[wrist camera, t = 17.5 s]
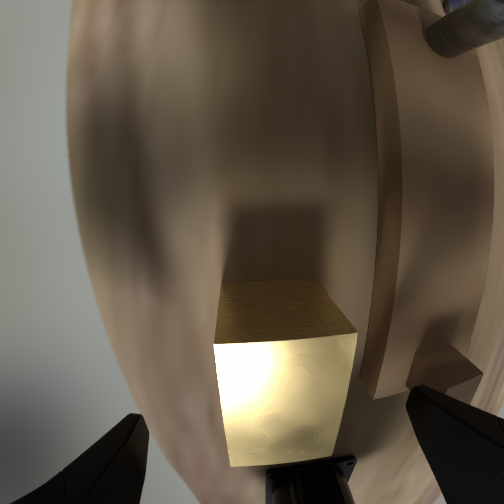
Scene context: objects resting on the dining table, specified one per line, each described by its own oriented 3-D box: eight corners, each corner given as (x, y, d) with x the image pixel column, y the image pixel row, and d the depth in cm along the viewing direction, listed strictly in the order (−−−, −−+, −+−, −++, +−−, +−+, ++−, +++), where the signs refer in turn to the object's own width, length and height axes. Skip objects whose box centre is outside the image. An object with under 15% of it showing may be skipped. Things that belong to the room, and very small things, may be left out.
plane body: (441, 356, 14) (487, 401, 9) (359, 377, 14) (397, 440, 9) (449, 41, 10) (505, 14, 5) (358, 11, 9) (405, -42, 4)
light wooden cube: (307, 384, 14) (331, 455, 9) (230, 390, 14) (230, 466, 9) (314, 277, 12) (357, 332, 8) (221, 282, 12) (214, 344, 7)
